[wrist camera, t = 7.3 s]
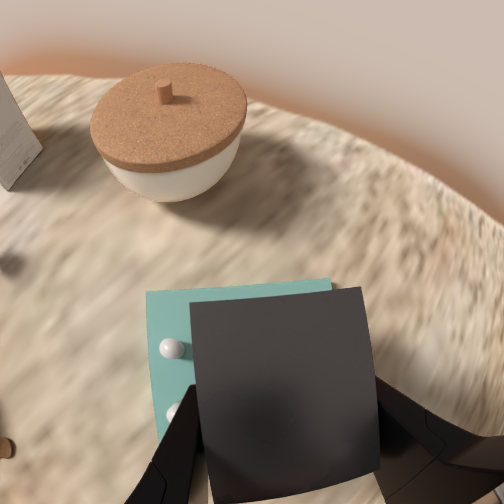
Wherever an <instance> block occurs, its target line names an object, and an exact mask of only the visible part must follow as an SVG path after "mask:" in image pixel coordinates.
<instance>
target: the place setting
mask: <svg viewBox="0 0 504 504" xmlns="http://www.w3.org/2000/svg"><path fill="white" fill-rule="evenodd" d="M11 455H12V444H11V442H10V441H9V440H8V439H7V438H0V458H9V457H10V456H11Z"/></svg>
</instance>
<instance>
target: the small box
mask: <svg viewBox="0 0 504 504" xmlns="http://www.w3.org/2000/svg"><path fill="white" fill-rule="evenodd" d="M42 149H43V147H42V145H41V143H40V142H39V140H38V139H37V137H36V135H35V134H34V132H33V130H32V129H31V127H30V126H29V124H28V122H27V121H26V119H25V117H24V115H23V114H22V112H21V110H20V108H19V106H18V105H17V103H16V101H15V99H14V97H13V95H12V94H11V92H10V90H9V88H8V86H7V84H6V82H5V80H4V78H3V76H2V74H1V72H0V185H1V186H2V187H3V188H4V189H5V190H6V191H8V190H9V189H10V188H11V186H12V185H13V184H14V183H15V181H16V180H17V179H18V178H19V176H20V175H21V174H22V173H23V171H24V170H25V169H26V168H27V167H28V166H29V164H30V163H31V162H32V161H33V160H34V158H35V157H36V156H37V155H38V154H39V153H40V152H41V151H42Z"/></svg>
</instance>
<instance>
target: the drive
mask: <svg viewBox="0 0 504 504" xmlns="http://www.w3.org/2000/svg"><path fill="white" fill-rule="evenodd" d="M189 309H190V325H191V338H192V350H193V362H194V372H195V382H196V391H197V400H198V408H199V416H200V423H201V431H202V438H203V444H204V451H205V457H206V463H207V469H208V475H209V480H210V486H211V491H212V496H213V501H214V504H237V503H247V502H255V501H263V500H269V499H275V498H281V497H287V496H292V495H296V494H301V493H306V492H310V491H314V490H318V489H322V488H325V487H329V486H332V485H336V484H339V483H342V482H346V481H349V480H352V479H355V478H358V477H361V476H363V475H366V474H369V473H372V472H374V471H377V470H379V469H380V437H379V419H378V405H377V393H376V383H375V374H374V365H373V357H372V350H371V343H370V336H369V329H368V323H367V317H366V311H365V306H364V300H363V295H362V290H361V287H353V288H345V289H337V290H328V291H319V292H310V293H300V294H290V295H280V296H269V297H258V298H246V299H233V300H219V301H203V302H189Z"/></svg>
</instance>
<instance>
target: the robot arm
mask: <svg viewBox="0 0 504 504" xmlns="http://www.w3.org/2000/svg"><path fill="white" fill-rule="evenodd" d="M375 383H376V393H377V405H378V419H379V437H380V469H379V470H377V471H374V472H373V473H374V475H375V477H376V480H377V482H378V485H379V487H380V490H381V492H382V495H383V497H384V500H385V503H386V504H504V435H503V436H493V437H482V436H478V435H475V434H472V433H470V432H468V431H466V430H464V429H462V428H460V427H457V426H455V425H453V424H451V423H449V422H447V421H445V420H444V419H442V418H440V417H438V416H437V415H435V414H433V413H432V412H430V411H429V410H427V409H425V408H424V407H422V406H421V405H419V404H418V403H416V402H415V401H413V400H411V399H410V398H408V397H407V396H405V395H404V394H402V393H401V392H399V391H398V390H396V389H395V388H393V387H392V386H390V385H389V384H387V383H386V382H384V381H383V380H381V379H380V378H378V377H377V376H375ZM151 461H152V462H150V463H149V465H148V467H147V469H146V471H145V473H144V475H143V476H142V478H141V480H140V482H139V483H138V485H137V486H136V488H135V489H134V490H133V492H132V493H131V495H130V496H129V497H128V499H127V500H126V502H125V503H124V504H208V469H207V463H206V457H205V451H204V444H203V438H202V431H201V423H200V416H199V408H198V400H197V391H196V384H191V385H189V387H188V389H187V391H186V393H185V395H184V397H183V399H182V401H181V403H180V405H179V407H178V408H177V410H176V412H175V414H174V416H173V418H172V420H171V422H170V424H169V426H168V428H167V430H166V432H165V434H164V436H163V438H162V440H161V442H160V444H159V446H158V448H157V450H156V452H155V454H154V456H153V458H152V460H151Z"/></svg>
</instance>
